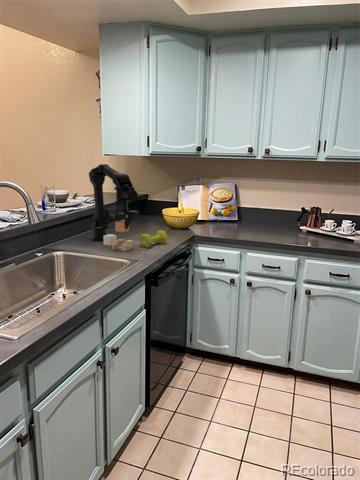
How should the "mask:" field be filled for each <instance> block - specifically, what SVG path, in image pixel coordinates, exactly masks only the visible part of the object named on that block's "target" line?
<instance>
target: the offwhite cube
mask: <svg viewBox="0 0 360 480" xmlns="http://www.w3.org/2000/svg"><path fill="white" fill-rule="evenodd" d="M103 239H104V240H103V245H105V246H111V247H112V242H114V241H116V240H118V239H117V235H116V234H112V233H111V234H110V233H109V234H106V235H104V236H103Z"/></svg>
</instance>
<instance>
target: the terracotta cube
mask: <svg viewBox="0 0 360 480" xmlns="http://www.w3.org/2000/svg"><path fill="white" fill-rule="evenodd" d="M114 223H115V225H114V226H115V228H114V230H115V232H119V233H125V232H129V231H130V226H129V227H128V229H127V230H126V229H125V220H122V219H120V221H116V222H115V221H114Z"/></svg>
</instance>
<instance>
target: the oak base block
mask: <svg viewBox="0 0 360 480" xmlns="http://www.w3.org/2000/svg"><path fill="white" fill-rule="evenodd" d="M133 248H134V240H133V239H123V238H119V239H117V240H116V241H114V242H112V245H111V249H112V250H116V251H117V250H118V251H123V252H125V251H126V252H127V251H128V250H131V249H133Z"/></svg>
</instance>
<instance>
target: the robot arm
mask: <svg viewBox="0 0 360 480" xmlns="http://www.w3.org/2000/svg"><path fill="white" fill-rule="evenodd" d="M88 177H89V182H90V183H91V184H92V186H93V187H92V188H93V198H94V207H95V208H94V209H95V211H94V214H93V216H92V222H91V223H90V225H89V227H90V229H91V230H92V232H93V237H92V238H91V240H94V241H99V242H101V241H104V239H103V236H104V235H107V232H106V229H108V228H109V225H110V224H109V223H110V219H109V216H110V217H111V218H112V219H113V220H114V223H115V222H116V221H120V220H121V218H122V216H121V215H123V216H124V217H123V219H124V221H125V229H126V230H127V229H128V227H129V228H130V224H131V221H132V220H133V219H134V218H138V217H140V216H141V213H140V211H139V210H130V208H128V204H129V203H130V202H136V200H138V198H139V197H138V196H139V194H138V192H137V191H136V190H135V187H134V185H133V183H132V181H131V179H130V176H129V175H128V174H126V173H123V172H119V171H117V170H115V169H114V168H112V167H111V166H110V165H109V164H106V163H105V164H103V163H102V164H101V163H100V164H99V165H97V166H96V167H94V168H92V169H90V171H89V172H88ZM106 177H108V178H109V179H111V180H112V183H113V184H114V185H115V187H114V189H113V190H115V193H116V195H115V198H116V200H115V201H114V204H113V205H111V206H110V207H107V208H105V201H104V189H103V185H104V183H105V182H106Z"/></svg>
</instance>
